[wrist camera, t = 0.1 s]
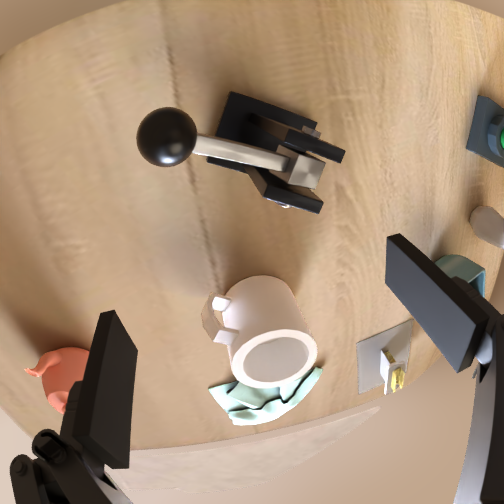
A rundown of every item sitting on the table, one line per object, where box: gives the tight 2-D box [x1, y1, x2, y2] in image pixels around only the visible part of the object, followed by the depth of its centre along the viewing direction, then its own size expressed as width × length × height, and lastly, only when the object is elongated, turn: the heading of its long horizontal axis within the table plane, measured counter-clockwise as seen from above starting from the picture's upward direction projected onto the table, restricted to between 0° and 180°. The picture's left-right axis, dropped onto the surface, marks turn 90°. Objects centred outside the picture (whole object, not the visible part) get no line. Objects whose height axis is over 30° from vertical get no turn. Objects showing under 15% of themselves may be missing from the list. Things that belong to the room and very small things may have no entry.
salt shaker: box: [469, 206, 504, 249], centre depth 39 cm, size 6×6×13 cm
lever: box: [136, 107, 326, 190], centre depth 19 cm, size 13×3×3 cm, turn 70°
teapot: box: [25, 347, 89, 414], centre depth 41 cm, size 12×18×10 cm
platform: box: [357, 319, 413, 395], centre depth 55 cm, size 12×18×7 cm, turn 15°
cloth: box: [208, 367, 323, 425], centre depth 54 cm, size 20×22×2 cm
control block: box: [466, 95, 504, 168], centre depth 36 cm, size 10×9×4 cm
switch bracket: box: [206, 91, 346, 214], centre depth 27 cm, size 10×8×15 cm
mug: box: [201, 275, 318, 388], centre depth 40 cm, size 14×10×11 cm
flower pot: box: [435, 255, 486, 298], centre depth 45 cm, size 9×9×9 cm
